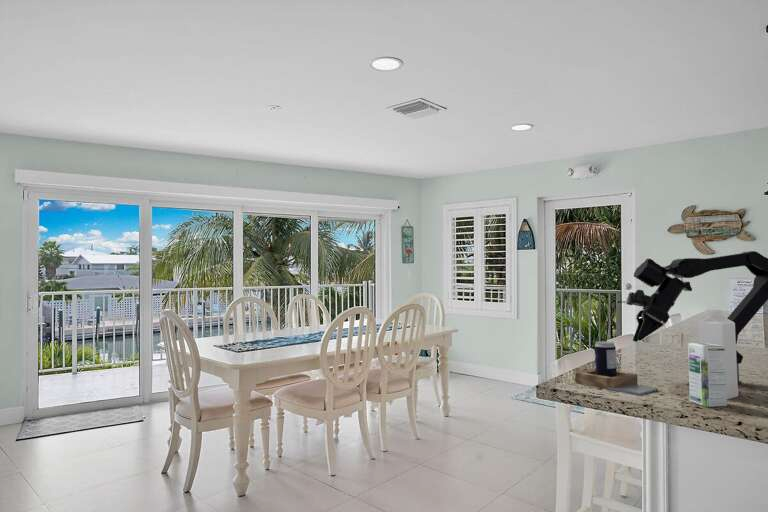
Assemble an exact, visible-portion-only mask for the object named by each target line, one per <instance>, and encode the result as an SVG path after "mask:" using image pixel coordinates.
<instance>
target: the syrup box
mask: <svg viewBox="0 0 768 512" xmlns="http://www.w3.org/2000/svg"><path fill="white" fill-rule="evenodd" d="M687 350H688V351H687V352H688V353H687V354H688V383H689V384H688V385H689V386H688V387H689V402H690V403H694V404H697V405H700V406H702V407H704V408H711V407H715V408H716V407H717V408H718V407H727V406H728V402H727V401H728V399H727V392H726V365H725V346H720V345H714V344H709V343H699V342H689V343H688V344H687Z"/></svg>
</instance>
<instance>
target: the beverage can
mask: <svg viewBox="0 0 768 512" xmlns="http://www.w3.org/2000/svg"><path fill="white" fill-rule="evenodd" d="M594 369H595V375H601V376H607V377H614V376H617V373H616V371H617V350H616V345H615V342H613V341H608V340H607V341H606V340H605V341H604V340H603V341H602V340H599V341H595V345H594Z"/></svg>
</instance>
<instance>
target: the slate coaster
mask: <svg viewBox="0 0 768 512" xmlns="http://www.w3.org/2000/svg"><path fill="white" fill-rule="evenodd" d="M607 390H609V391H614V392H620V393H624V394H630V395H634V394H635V396H639V395H640V396H643V395H646V393H647V394H650V392H651V393H654V392H653V391H655V392H657V391H656V390H658V388H657V387H651V386H650V387H649V386H647V385H646V386H645V385H641V384H640V385H639V384H637V385H634V384H628V385H624V386H620V387H616V388H611V387H608V389H607ZM642 394H643V395H642Z"/></svg>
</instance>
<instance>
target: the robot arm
mask: <svg viewBox="0 0 768 512" xmlns="http://www.w3.org/2000/svg"><path fill="white" fill-rule="evenodd" d="M738 267H746V269H747V270H748V271H749V272H750V273H751V274H752V275H754V278H753V283H752V284H753V285H752V288H750V291H749V292H748V293H747V294H746V295H745V296H744V298H743V299H742V300H741V301H740V302H739V304H738V305H736V306H735V308H734V309H733V311H731V313H730V314H729V315H728V317H726V318H727V319H729V320H731V321H733V322H734V323H735V337H736V345H737V344H738V338H739V335H740V333H741V332H742V331H743V330H744V329H745V327H746V326H748V324H749V322H751V320H752V319H753V318H754V316H756V314H757V313H758V312H760V309H761V308H763V306H764V305H765V304H766V303H767V301H768V257H766V256H764V255H763V254H761V253H759V252H758V251H755V250H754V251H753V250H750V251H749V250H748V251H743V252H741V253H740V252H739V253H735V254H727V255H721V256H713V257H707V258H700V257H699V258H697V257H695V258H694V257H692V258H691V257H690V258H688V257H687V258H676V259H673V260H672V261H671V263H670V264H668V265H666V266H663V265H660V264H659V263H657V262H656V261H654V260H653V259H651V258H646V259H645V260H644V262H642V263H641V264H640V265H639V266H638V267H636V268H635V270H634V272H633V277H634V278H635V279H637V280H639V281H640V282H641V283H643V284H645V285H646V286H648V287H650V288H654V287H657V289H656V290H655V291H654V292H653V293H652V294H651V295H650V296H649V295H647V294H645V292H644V290H642V289H637V290H635V292H633V291H632V292H629V293H628V296H627V301H626V304H627V305H629V306H636V307H637V306H638V307H642V310H641V309H640V310H639V311H638V313H637V314H636V315H635V316H636V317H635V320H636V321H637V327H636V330H635V333H634V336H633V338H632V341H633V342H635V343H637V342H638V341H639V342H641V341H642V340H644V339H645V338H647V337H648V336H650V335H652V334H653V333H654V332H656V331H657V330H659V329H660V328H662V327H663V326H664V325H665V324H667V322H668V321H669V319H670V314H669V312H670V310H671V308H672V307H674V305H676V301H677V299H678V298H679V297H680V295H681V293H682V292H683V291H684V292H692V291H693V288H692V285H691V282H690V281H683V280H681V279H692V278H695V277H698V276H699V277H700V276H702V275H704V274H706V273H708V272H711V271H717V270H724V269H731V268H738ZM670 275H671V276H673V277H671V276H670ZM743 358H744V356H743V355H742V354H741V353H740V352H739V351H738V350H736V359H737V381H738V385H739V384H742V383H743V381H742V380H740V367H739V366H740V365H739V364H742V362H743Z"/></svg>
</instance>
